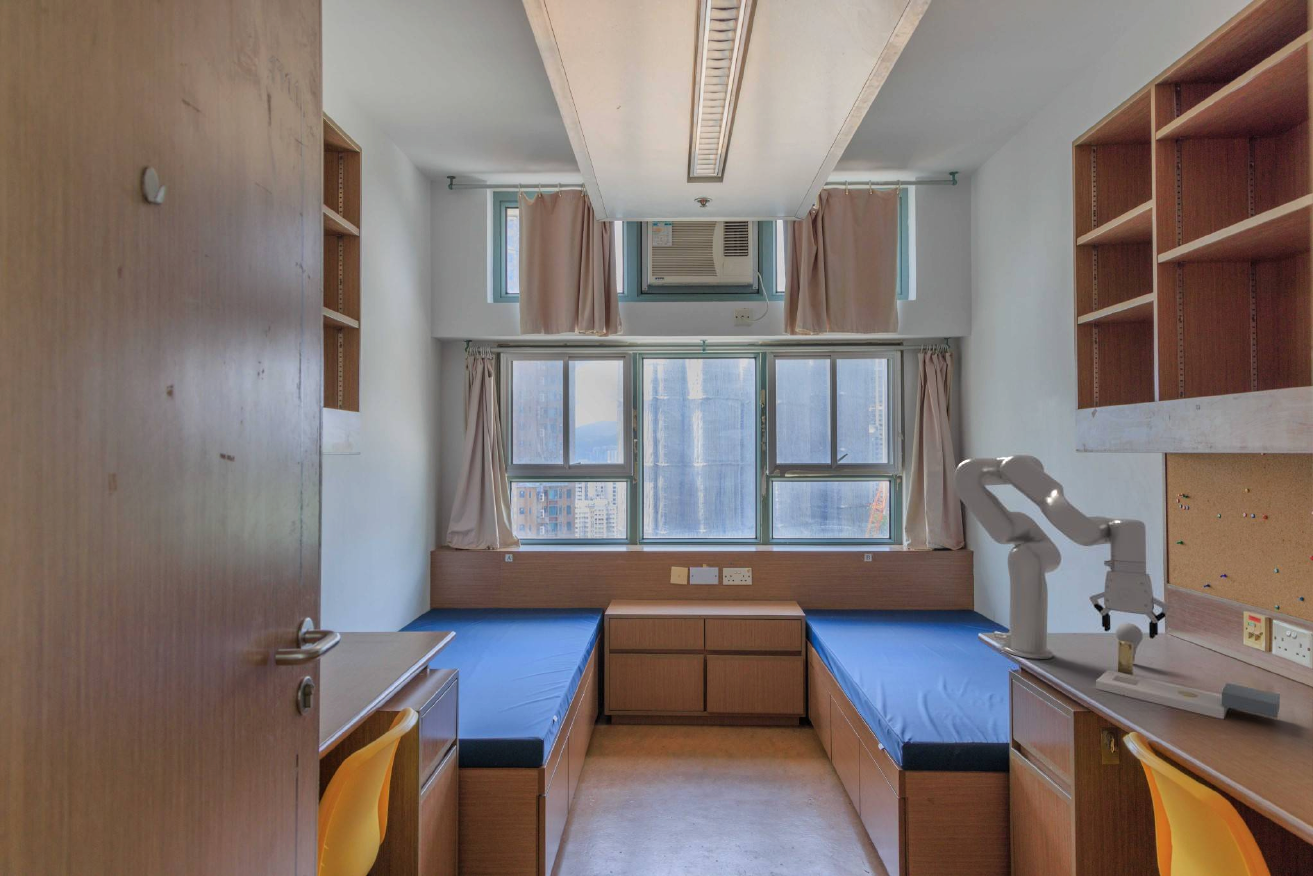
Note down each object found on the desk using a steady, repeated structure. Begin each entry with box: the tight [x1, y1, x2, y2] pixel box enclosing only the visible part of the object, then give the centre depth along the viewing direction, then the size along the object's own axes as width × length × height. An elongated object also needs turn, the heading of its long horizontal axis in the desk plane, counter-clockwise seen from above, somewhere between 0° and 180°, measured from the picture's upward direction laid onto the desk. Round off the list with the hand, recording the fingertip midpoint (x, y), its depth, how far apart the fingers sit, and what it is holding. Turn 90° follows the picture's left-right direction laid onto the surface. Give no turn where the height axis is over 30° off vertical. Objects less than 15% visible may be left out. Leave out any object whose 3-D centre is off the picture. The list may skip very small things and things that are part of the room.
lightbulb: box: [1115, 622, 1144, 663], centre depth 185 cm, size 6×6×11 cm
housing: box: [1221, 682, 1281, 719], centre depth 148 cm, size 9×9×3 cm
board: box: [1095, 669, 1230, 720], centre depth 160 cm, size 24×12×2 cm, turn 44°
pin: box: [1117, 640, 1134, 676], centre depth 173 cm, size 3×3×9 cm
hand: (1129, 633), depth 173 cm, fingers open, 9 cm apart
